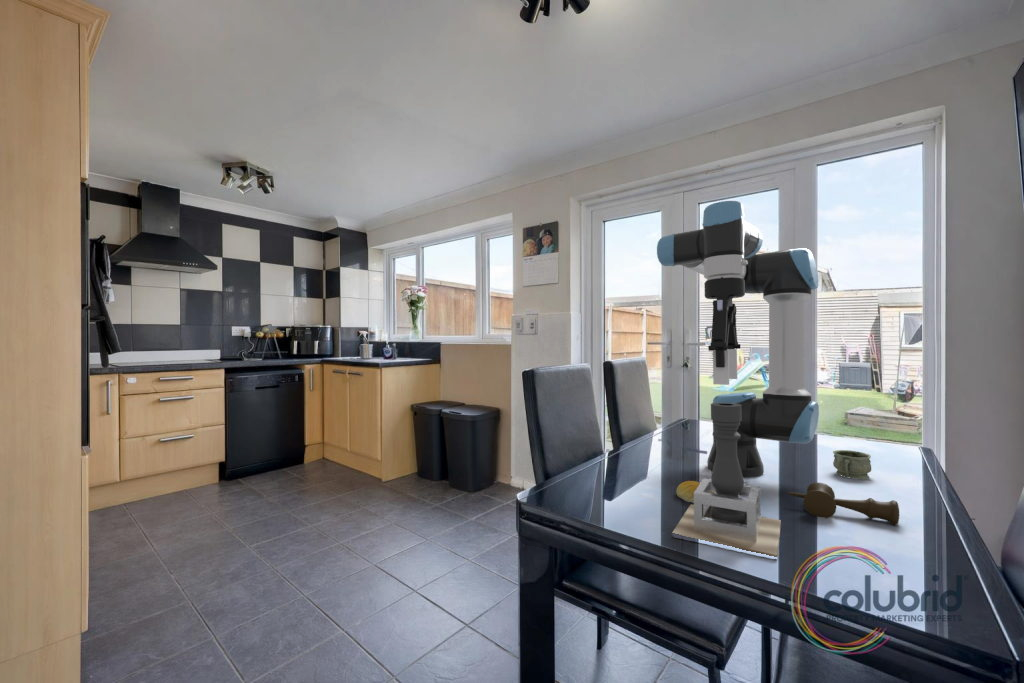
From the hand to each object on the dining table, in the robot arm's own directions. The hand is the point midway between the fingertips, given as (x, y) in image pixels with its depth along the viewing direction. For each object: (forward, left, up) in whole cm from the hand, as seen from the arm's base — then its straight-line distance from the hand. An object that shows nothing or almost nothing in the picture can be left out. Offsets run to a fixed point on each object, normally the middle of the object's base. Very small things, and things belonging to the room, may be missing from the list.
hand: (726, 381), depth 91 cm
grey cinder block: (+1, 0, -31) cm, 31 cm away
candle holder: (+1, 0, -30) cm, 30 cm away
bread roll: (-17, -10, -31) cm, 37 cm away
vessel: (-58, +25, -31) cm, 71 cm away
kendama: (-22, +20, -31) cm, 43 cm away
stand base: (+1, 0, -31) cm, 31 cm away
